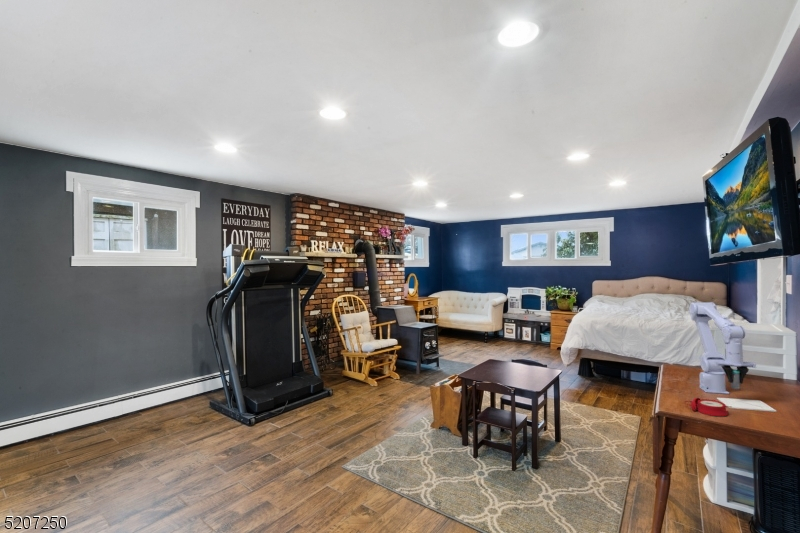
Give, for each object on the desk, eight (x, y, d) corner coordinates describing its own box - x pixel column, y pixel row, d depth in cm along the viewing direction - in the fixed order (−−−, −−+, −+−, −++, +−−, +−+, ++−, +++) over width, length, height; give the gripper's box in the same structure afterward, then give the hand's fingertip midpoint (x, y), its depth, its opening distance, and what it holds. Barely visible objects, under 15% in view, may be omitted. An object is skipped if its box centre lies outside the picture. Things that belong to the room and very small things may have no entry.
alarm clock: (728, 411, 151) (684, 394, 162) (724, 425, 152) (680, 407, 163) (733, 404, 158) (690, 388, 169) (729, 417, 159) (686, 401, 170)
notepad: (729, 408, 162) (729, 406, 162) (716, 398, 174) (716, 397, 174) (776, 411, 157) (776, 410, 157) (760, 401, 168) (760, 400, 168)
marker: (733, 388, 168) (732, 371, 168) (729, 386, 171) (728, 369, 171) (741, 389, 167) (741, 371, 167) (738, 387, 170) (737, 369, 170)
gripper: (718, 353, 168) (719, 384, 168) (759, 355, 163) (760, 386, 162) (711, 350, 174) (712, 379, 174) (750, 351, 169) (752, 381, 169)
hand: (735, 382), depth 169 cm, fingers closed on marker, 3 cm apart
